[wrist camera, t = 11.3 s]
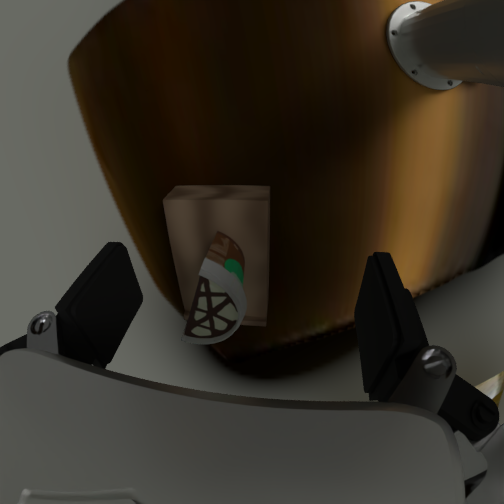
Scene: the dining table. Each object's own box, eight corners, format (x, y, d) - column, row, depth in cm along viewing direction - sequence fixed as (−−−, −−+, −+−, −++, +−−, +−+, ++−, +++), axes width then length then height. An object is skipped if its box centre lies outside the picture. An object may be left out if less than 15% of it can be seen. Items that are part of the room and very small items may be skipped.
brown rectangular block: (270, 186, 37) (267, 204, 32) (268, 299, 48) (265, 326, 43) (176, 185, 38) (159, 203, 33) (193, 294, 49) (184, 319, 44)
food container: (238, 303, 42) (227, 357, 34) (198, 290, 42) (180, 342, 33) (267, 237, 35) (261, 290, 27) (220, 220, 35) (199, 270, 27)
